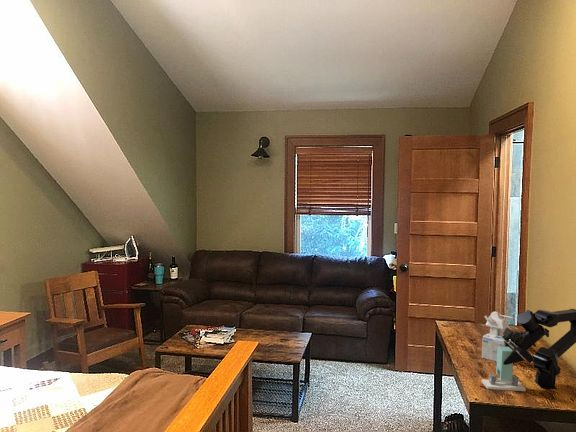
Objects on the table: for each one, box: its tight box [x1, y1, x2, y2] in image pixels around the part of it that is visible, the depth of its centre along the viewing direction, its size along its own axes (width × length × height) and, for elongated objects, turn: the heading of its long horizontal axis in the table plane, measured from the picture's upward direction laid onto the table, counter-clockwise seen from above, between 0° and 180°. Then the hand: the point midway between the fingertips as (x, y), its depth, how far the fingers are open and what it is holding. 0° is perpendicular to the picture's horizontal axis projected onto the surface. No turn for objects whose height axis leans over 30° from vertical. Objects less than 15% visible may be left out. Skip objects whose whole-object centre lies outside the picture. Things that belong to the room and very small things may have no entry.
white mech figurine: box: [483, 311, 514, 337], centre depth 238 cm, size 12×13×18 cm
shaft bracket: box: [481, 373, 527, 392], centre depth 192 cm, size 15×7×4 cm, turn 86°
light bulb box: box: [481, 333, 505, 363], centre depth 222 cm, size 11×7×11 cm, turn 47°
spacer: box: [495, 346, 514, 380], centre depth 191 cm, size 4×5×12 cm
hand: (501, 361), depth 191 cm, fingers closed on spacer, 5 cm apart
